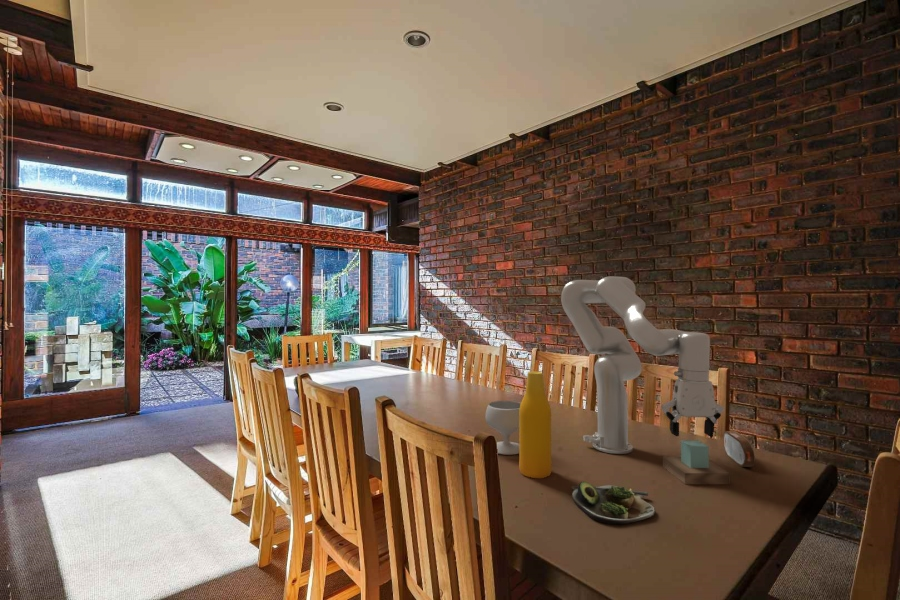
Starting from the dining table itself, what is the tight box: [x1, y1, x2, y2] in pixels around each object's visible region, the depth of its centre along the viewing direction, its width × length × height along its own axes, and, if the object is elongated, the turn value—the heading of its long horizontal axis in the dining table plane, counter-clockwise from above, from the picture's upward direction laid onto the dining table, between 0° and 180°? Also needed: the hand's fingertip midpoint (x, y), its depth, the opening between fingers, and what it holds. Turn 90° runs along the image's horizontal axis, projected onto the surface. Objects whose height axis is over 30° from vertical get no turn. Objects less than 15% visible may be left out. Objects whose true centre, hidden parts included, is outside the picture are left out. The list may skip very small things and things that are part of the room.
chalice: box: [484, 400, 521, 456], centre depth 141 cm, size 14×14×15 cm
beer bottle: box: [518, 371, 552, 479], centre depth 122 cm, size 9×9×29 cm
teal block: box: [680, 439, 710, 468], centre depth 120 cm, size 5×5×6 cm
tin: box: [722, 430, 756, 468], centre depth 129 cm, size 15×3×8 cm, turn 168°
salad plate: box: [570, 481, 656, 525], centre depth 102 cm, size 19×18×5 cm
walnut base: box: [662, 456, 731, 485], centre depth 120 cm, size 12×12×3 cm
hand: (691, 435), depth 120 cm, fingers open, 9 cm apart
